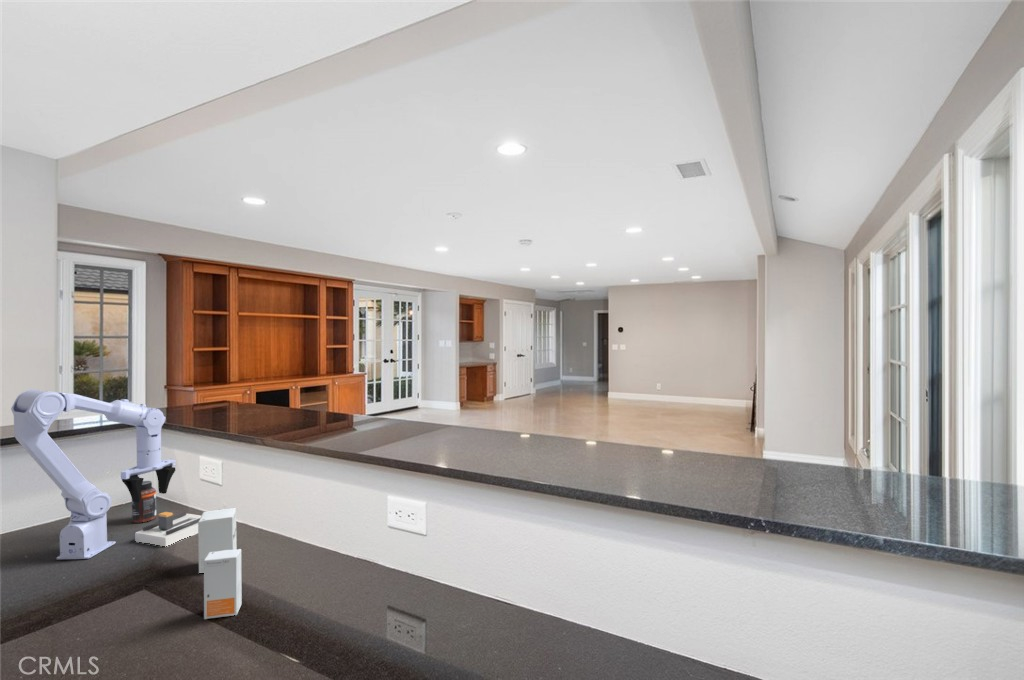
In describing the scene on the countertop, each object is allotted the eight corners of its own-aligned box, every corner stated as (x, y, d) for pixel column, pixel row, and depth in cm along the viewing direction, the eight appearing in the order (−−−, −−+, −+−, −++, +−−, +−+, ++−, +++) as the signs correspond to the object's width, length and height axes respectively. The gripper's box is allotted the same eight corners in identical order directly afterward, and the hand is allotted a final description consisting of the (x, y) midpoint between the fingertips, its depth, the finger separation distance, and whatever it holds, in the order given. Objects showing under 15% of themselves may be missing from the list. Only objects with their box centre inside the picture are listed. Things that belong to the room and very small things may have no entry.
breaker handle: (166, 529, 139) (166, 515, 139) (158, 528, 140) (158, 513, 140) (173, 527, 141) (172, 512, 141) (165, 526, 142) (164, 511, 142)
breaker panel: (165, 547, 134) (165, 534, 134) (135, 541, 138) (135, 529, 138) (214, 526, 149) (214, 514, 149) (186, 521, 152) (185, 510, 152)
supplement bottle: (161, 516, 156) (160, 479, 156) (145, 524, 150) (144, 485, 150) (143, 515, 157) (142, 479, 157) (126, 523, 151) (126, 485, 151)
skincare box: (203, 620, 101) (202, 560, 100) (210, 609, 105) (209, 551, 105) (237, 616, 102) (236, 556, 102) (242, 604, 107) (241, 547, 106)
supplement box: (233, 569, 122) (232, 517, 122) (197, 575, 119) (196, 521, 119) (237, 556, 129) (236, 506, 129) (203, 561, 126) (202, 510, 126)
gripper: (133, 457, 137) (134, 507, 138) (183, 445, 151) (184, 490, 151) (114, 455, 139) (115, 504, 140) (165, 443, 153) (166, 488, 154)
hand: (150, 497), depth 146 cm, fingers open, 7 cm apart
